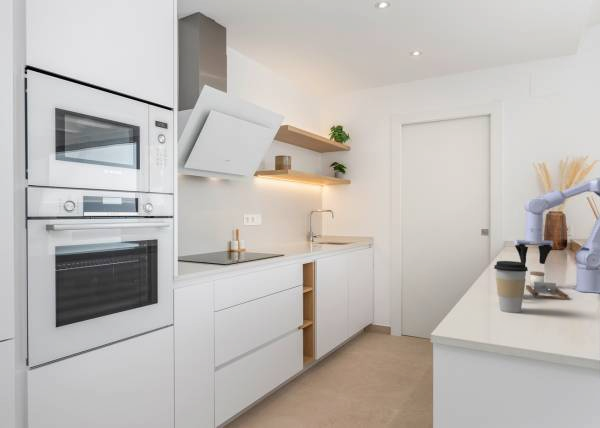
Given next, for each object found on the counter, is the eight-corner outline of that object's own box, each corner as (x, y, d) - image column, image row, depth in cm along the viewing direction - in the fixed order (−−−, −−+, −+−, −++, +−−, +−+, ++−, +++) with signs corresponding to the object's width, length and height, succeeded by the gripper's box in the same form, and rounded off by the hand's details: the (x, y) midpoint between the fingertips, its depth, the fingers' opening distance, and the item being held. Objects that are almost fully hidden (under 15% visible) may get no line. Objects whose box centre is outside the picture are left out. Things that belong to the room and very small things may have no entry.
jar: (542, 286, 164) (542, 271, 164) (545, 289, 159) (546, 273, 159) (528, 285, 165) (528, 271, 165) (531, 288, 161) (531, 273, 160)
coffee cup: (533, 314, 122) (534, 265, 121) (501, 314, 122) (502, 264, 121) (517, 306, 131) (518, 260, 131) (488, 306, 131) (488, 260, 131)
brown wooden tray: (554, 290, 156) (555, 286, 156) (568, 300, 140) (568, 295, 140) (525, 288, 159) (525, 285, 159) (536, 297, 143) (536, 293, 143)
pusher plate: (555, 293, 151) (555, 282, 150) (561, 298, 143) (561, 287, 143) (533, 292, 153) (534, 281, 153) (539, 296, 145) (539, 285, 145)
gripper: (545, 229, 164) (544, 262, 165) (510, 228, 164) (509, 261, 164) (557, 230, 157) (555, 265, 158) (520, 229, 157) (519, 264, 157)
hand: (532, 263), depth 160 cm, fingers open, 7 cm apart
